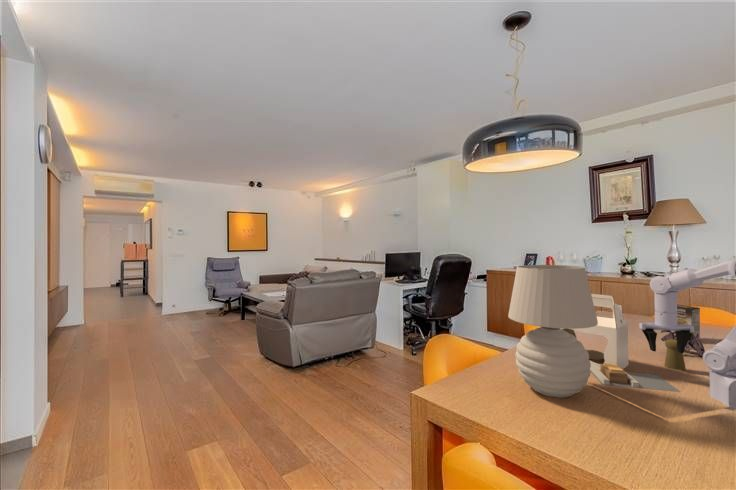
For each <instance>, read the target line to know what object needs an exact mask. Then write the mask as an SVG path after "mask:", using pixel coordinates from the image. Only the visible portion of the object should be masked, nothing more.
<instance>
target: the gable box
mask: <svg viewBox="0 0 736 490" xmlns="http://www.w3.org/2000/svg"><path fill="white" fill-rule="evenodd" d="M591 295H592V300H593V304H594V307H600V308H601V307H602V308H608V309H611V310H612V317H607V316H600V315H599V316H598V315H596V316H597V321H598V324H597V325H596V326H594V327H590V328H579V329H563V328H560V329H561V330H564V331H566V332H568V333H569V334H572V335H573V336H575V337H576V339H577V340H578V338H577V335H576V332H575V331H577V332H579V333H582V334H587V335H598V336H601V337H605V339H607V345H606V346H605V348H604V352H602V351H598V350H594V349H586V350H587V352H588V353H589V361H590V363H591V366H595V367H596V368H597V369H598V370H600V364H601V363H598V362H594V361H598V360H604V362H603V363H602V364H604V363H610V364H616V365H617V366H619V367H620V368H621V369H623V370H624V369H625V368H627V367H628V366H629V364H630V363H629V361H630V360H629V322H628V320H627V319H626V317H625V315H624V312H623V311H624V310H623V305H622V304H618V303H616V302H615V298H614V296H613V295H611V294H610V295H609V294H599V293H591ZM593 360H594V361H593Z"/></svg>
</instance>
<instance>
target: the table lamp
mask: <svg viewBox="0 0 736 490" xmlns="http://www.w3.org/2000/svg"><path fill="white" fill-rule="evenodd" d="M591 294H592V292H591V286H590V283H589V280H588V274H587V272H586V267H584V266H580V265H563V264H561V265H560V264H527V265H517V266H516V271H515V277H514V282H513V287H512V292H511V298H510V303H509V309H508V315H507V316H508V319H510V320H511V321H514V322H516V323H519V324H524V325H529V326H535V328H534V329H531V330H529V331H528V332H526V334H524V335H523V336H521V338H520V341H519V342H518V343H517V344H516V351H515V365H516V367H517V369H518V374H519V375H520V376H521V378H523V381H524V382H525V384H527V385H528V386H529V387H531V388H532V389H533V391H535V392H537V393H539V394H541V395H544V396H547V397H550V398H560V399H562V398H569V397H571V396H573V395H575V394H578V393H579V392H581V391H582V389H583V388H584V387H585V386H587V384H588V381H589V378H590V376H591V372H590V371H591V370H590V367H591V363H590V361H591V360H590V359H589V353H588V352H587V350H588V349H586V348H585V346H584V344H583V343H582V342H581V341H580V340H578V338H577V336H576V337H575V336H573V335H572V334H569V333H568V332H566V331H564V330H561V329H560V328H563V329H579V328H590V327H594V326H596V325H597V324H598V321H597V316H598V315H597V312H596V309H595V306H594V304H593V300H592V295H591ZM576 338H577V339H576ZM589 360H590V361H589Z"/></svg>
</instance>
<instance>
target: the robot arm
mask: <svg viewBox="0 0 736 490" xmlns="http://www.w3.org/2000/svg"><path fill="white" fill-rule="evenodd" d="M729 275H731V276H734V277H736V259H731V260H728V261H724V262H721V263H719V264H715V265H712V266H708V267H706V268H702V269H700V270H697V269H695V268H688V267H685V268H681V269H680V271H678V272H674V273H672V272H669V273H666V275H665V276H659V275H658V276H654V277H653V278H652V279H650V281H649V288H650V290H651V291H653V294H654V298H653V299H654V322H639V324H638V325H639V326H638V327H639V329H640V330H641V332H642V333H643V334H644V336H645V339H646V340H647V343H648V346H649V350H650V351H652V352H656V351H657V336H658V333H657V332H656V331H661V330H672V331H675V334H676V339H677V351H678V352H680V353H683V354H684V352H685V351H684V349H685V346H686V344H687V342H688V341H689V339H690V338H691V337H692V333H690V332H694V326H692V325H683V324H677V304H678V297H679V296H678V294H679V292H681V291H683V290H688V289H692V288H696V287H700V286H702V285H703V283H704V282H705V281H707V280H713V279H717V278H721V277H724V276H729ZM702 360H703V363H704V365H705V366H706V367H707V368H708V371H709V396H710V397H711V398H712V399H714V400H716V401H719V402H721V403H722V404H724V405H725V406H727V407H724V410H725V409H726V410H735V411H736V324H735V325H734V326H733V328H731V330H730V332H729V333H728V334H727V336H726V337H725V338H724V339H723V340H721V341H720V342H717V343H715V344H714V346H713V347H712V348H710V349H707V350H705V352H704V354H703V357H702Z"/></svg>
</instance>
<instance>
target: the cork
mask: <svg viewBox="0 0 736 490" xmlns="http://www.w3.org/2000/svg"><path fill="white" fill-rule="evenodd" d="M664 345H665V347H666V352H665V353H666V354H665V359H664V360H665V361H664V367H665V368H668V369H672V370H676V371H681V372H685V373H686V372H687V368H686V363H685V358H684V352H683V353H680V352H678V351H677V340H674V339H668V340H666V341H664Z"/></svg>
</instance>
